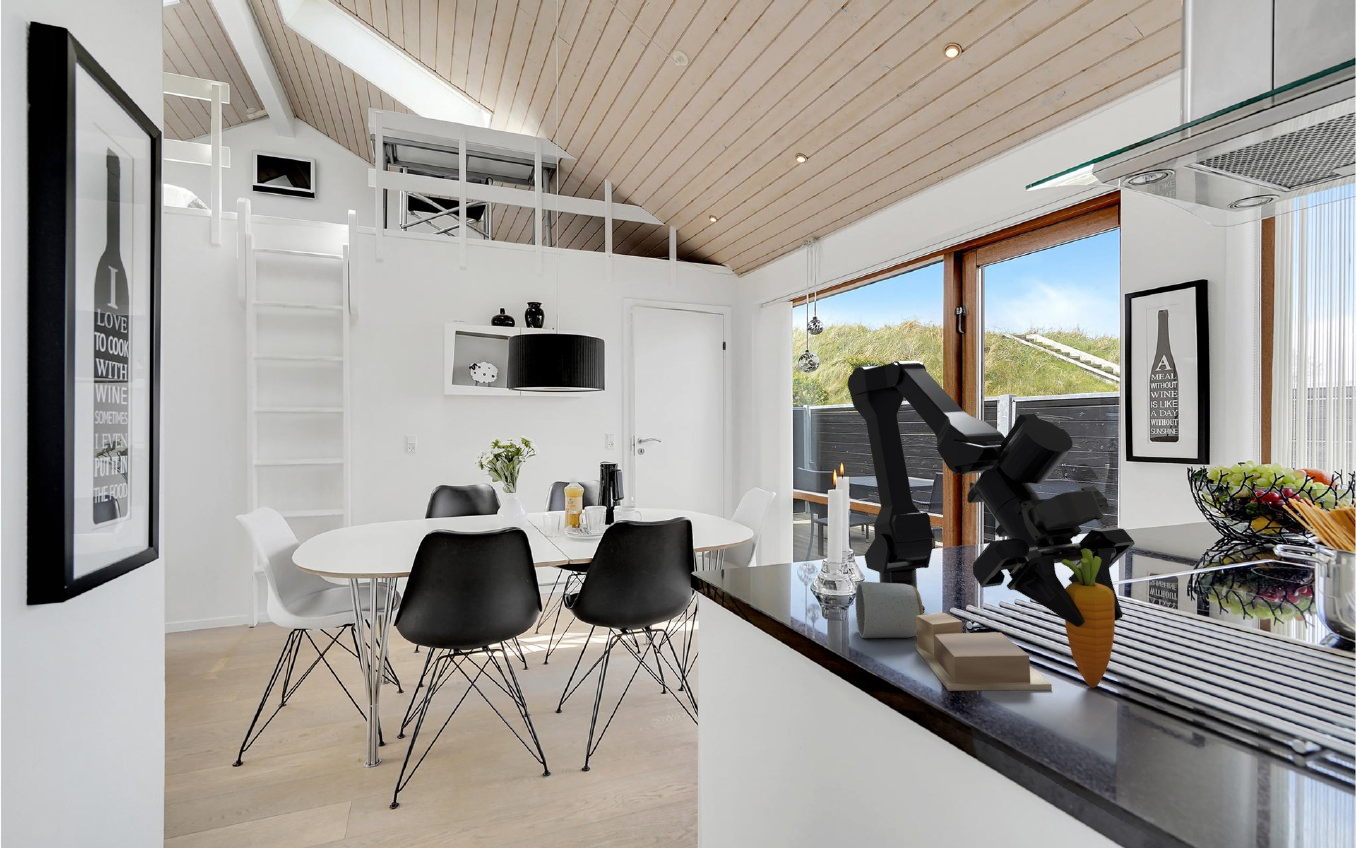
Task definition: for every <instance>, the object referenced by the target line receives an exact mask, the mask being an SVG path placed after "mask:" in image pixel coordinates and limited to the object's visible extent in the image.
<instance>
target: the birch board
mask: <svg viewBox="0 0 1356 848" xmlns="http://www.w3.org/2000/svg"><path fill="white" fill-rule="evenodd" d="M914 649H915V650H916V651H917V652H918V654H919V655H920V656H921V658H923V660H924V661H925V662H926V664H927V666H928V667H930V669H931V670H932V672H933V673H934V674H935V676H936V677H937V678H938V680H939V681H940V682H941V683H942V684H943V686H944V687H945V688H946V690H947V691H948V692H949V691H1030V690H1031V691H1036V690H1037V691H1047V690H1049V691H1050V690H1053V687H1052V686H1053V683H1051V682H1050V681H1049V680H1048V679H1046V678H1045V677H1044V676H1043V675H1041V674H1040V673H1039V672H1038V671H1036V670H1035V669H1034V668H1033V667H1032V666H1031V665H1030V682H1031V683H955V682H954V681H953V679H952V678H951V677H950V676H949V674H948V673H947V672H946V671H945V670H944V668H943V667H942V666H941V665H940V664H939V662H938V661H937V660H936V659H935V656H933V655H931V654H930V653H928V652H926V651H925V650H923V649H921V648H920V647H918V644H917V643H914Z"/></svg>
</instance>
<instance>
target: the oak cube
mask: <svg viewBox="0 0 1356 848" xmlns="http://www.w3.org/2000/svg"><path fill="white" fill-rule="evenodd" d="M916 624H917V636H916V641H917V644H918V647H920V648H921V649H923V650H925V651H926V652H928V653H930V654H931V655H933V656H935V649H934V634H952V633H964V632H963V621H962V620H960V619H959V618H956V617H954V616H952V615H950V614H947V613H946V612H937V613H928V614H923V615H917V616H916Z"/></svg>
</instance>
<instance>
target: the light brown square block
mask: <svg viewBox="0 0 1356 848" xmlns="http://www.w3.org/2000/svg"><path fill="white" fill-rule="evenodd" d="M934 649H935V659H936V660H937V661H938V662H939V664H940V665H941V666H942V667H943V668H944V670H945V671H946V672H947V673H948V674H949V676H950V677H951V678H952V679H953V681H954V682H955V683H1031V682H1030V666H1031V665H1030V663H1031V662H1030V655H1029V654H1028V653H1027V652H1026V651H1024V649H1022V648H1021V647H1019V646H1018V645H1017V644H1016V643H1014V642H1013V641H1012V640H1011V639H1009V638H1008V637H1007V636H1006V635H1005V634H1003V633H1002V632H971V633H970V632H968V633H967V632H963V633H952V634H934Z"/></svg>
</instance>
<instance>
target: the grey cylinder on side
mask: <svg viewBox="0 0 1356 848" xmlns="http://www.w3.org/2000/svg"><path fill="white" fill-rule="evenodd" d="M922 605H923V600H922V597H921V594H920V591H919V590H918V588H917V589H916V588H915V587H914V586H911V585H907V584H899V583H880V582H878V581H877V582H875V581H864V580H863V581H862V580H861V581H859V582H858V583H857V584H856V589H855V617H856V623H857V625H856V626H857V630H858V633H859V637H861V638H863V639H884V638H891V639H893V638H912V637H917V624H916V616H917V615H924V611H923V607H922Z"/></svg>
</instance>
